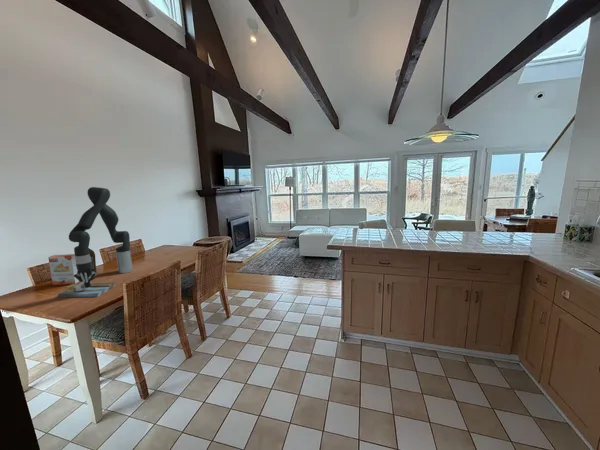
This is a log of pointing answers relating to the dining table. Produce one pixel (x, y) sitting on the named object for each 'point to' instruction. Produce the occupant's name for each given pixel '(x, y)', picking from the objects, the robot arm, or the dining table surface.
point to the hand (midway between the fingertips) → (87, 287)
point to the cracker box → (63, 269)
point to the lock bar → (80, 286)
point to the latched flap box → (88, 290)
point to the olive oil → (93, 260)
